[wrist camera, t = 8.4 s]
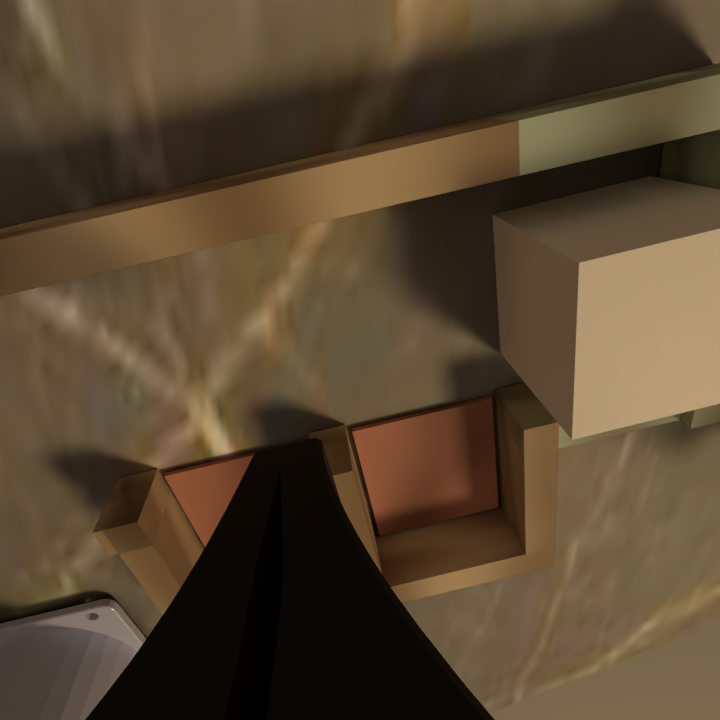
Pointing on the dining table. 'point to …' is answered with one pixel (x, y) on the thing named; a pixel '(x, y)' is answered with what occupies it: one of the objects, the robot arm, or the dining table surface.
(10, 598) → the dining table surface
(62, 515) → the dining table surface
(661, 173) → the trap lane
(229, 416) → the dining table surface
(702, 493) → the dining table surface
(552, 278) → the ivory block
